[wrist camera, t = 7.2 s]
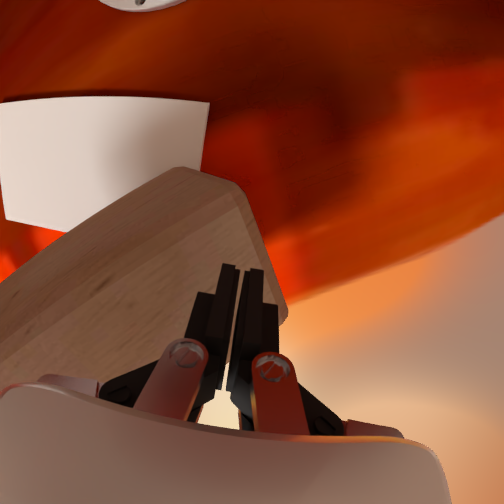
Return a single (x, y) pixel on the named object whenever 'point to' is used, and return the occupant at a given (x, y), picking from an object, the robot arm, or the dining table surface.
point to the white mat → (90, 152)
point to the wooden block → (129, 280)
